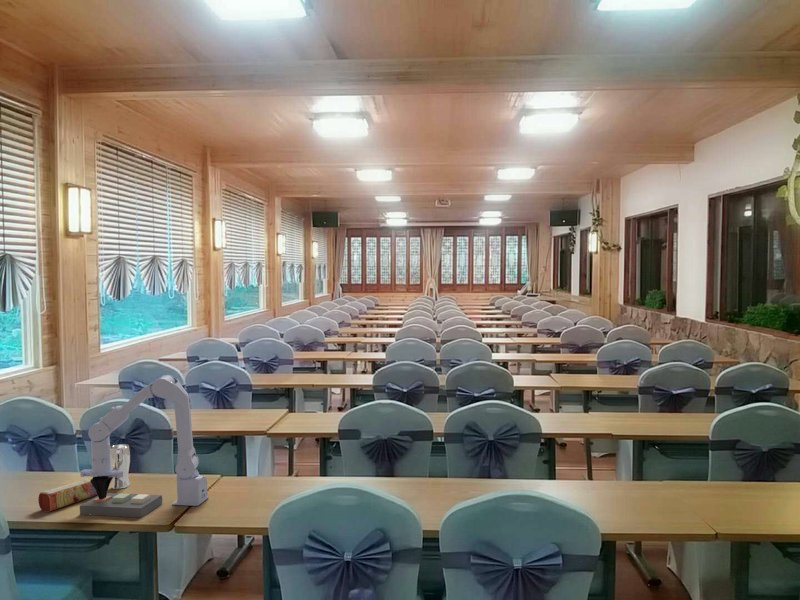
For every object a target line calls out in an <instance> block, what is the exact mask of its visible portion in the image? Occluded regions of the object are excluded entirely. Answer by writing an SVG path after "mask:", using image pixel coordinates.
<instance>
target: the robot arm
mask: <svg viewBox="0 0 800 600" xmlns="http://www.w3.org/2000/svg"><path fill="white" fill-rule="evenodd" d="M155 397H157V398H161V399H164V400H167V401H169V402H171V403H172V404H173V406H174V414H175V416H174V417H175V425H176V426H175V427H176V429H175V431H176V438H177V440H176V441H177V456H176V457H177V462H176V465H175V468H174V470H175V474H176V496H177V497H176V498H177V499H176V500H175V501H173V502H172V503H171V504H172V506H193V507H195V506H196V507H197V506H199V505H201V504H202V503H203V502H205V501H206V500H207V499H209V498H210V497H209V496H208V480H207V477H206V476H204V475H200V473H199V471H198V469H197V468H198V466H199V464H200V459H199V457H198V455H197V453H196V448H195V447H194V440H193V439H194V438H193V429H192V427H193V426H192V416H191V415H192V413H191V404H190V403H191V402H190V396H189V393H188V392H187V390H185V388H184V387H183V386H182V384H181V382H180V380H179V379H178V378H176V377H174V376H173V375H171V374H164V375H161V376H160V377H159V378H157V379H155V380H154V381H152V382H150V383H149V384H148V385H145V386H144V387H143V388H142V389H140V390H139V391H138V392H136V394H135V395H134V396H132V397H131V398H130V399H129V400H128V401H127V402H126V403H124V404H123V405H117V406H115V407H114V406H112V407H111V408H110V409H109V412H108V413H106V414H105V415H104V416H103V417H101V416H100V418H98V419H97V421H98V422H96V423H94V424H92V425H91V426H90V427H89V429H88V431H87V432H88V433H87V436H88V438H89V439H90V449H91V450H90V451H91V453H90V454H91V469H90V468H89V469H85V468H84V469H82V470H81V471H79V473H80V478H85V477H90V478H91V477H93V479H91V480H90V481H91V483H92V484H93V486H94V487H95V489H96V492H97V496H98V498H99V499H104V498H105V497H106V496H107V493H108V491H109V490H108V489H109V487H110V484H112V482H113V477H117V478H121V477H123V471H119V470H115V469H111V455H110V447H111V438H110V436H111V434H112V432H114V431H115V430H117V429H118V428H119V427H120V426H121V425H122V424H124V423H125V422H126V421H127V420H129V418H130V412H131V411H133V410H134V409H135V408H137V407H138V406H139V405H141V404H142V403H144V402H145V400H147V399H152V398H155Z"/></svg>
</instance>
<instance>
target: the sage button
mask: <svg viewBox="0 0 800 600" xmlns="http://www.w3.org/2000/svg"><path fill="white" fill-rule="evenodd" d="M131 494H132V493H121V494H118V495H116V496H114V497H113V498H112V503H124V502H126V501H128V500H130V499H131Z"/></svg>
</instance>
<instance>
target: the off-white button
mask: <svg viewBox="0 0 800 600" xmlns="http://www.w3.org/2000/svg"><path fill="white" fill-rule="evenodd" d="M137 494H138V495H137V496H135V497H133V498H131V499H132V503H135V504H144V503H145V502H147V501H148V500H150V495H151V494H147V495H146V494H145V493H144V494H142V493H137Z"/></svg>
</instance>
